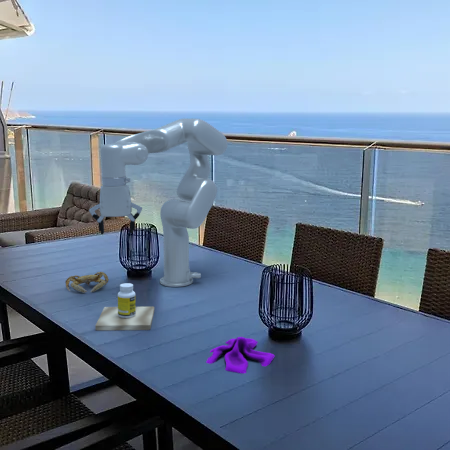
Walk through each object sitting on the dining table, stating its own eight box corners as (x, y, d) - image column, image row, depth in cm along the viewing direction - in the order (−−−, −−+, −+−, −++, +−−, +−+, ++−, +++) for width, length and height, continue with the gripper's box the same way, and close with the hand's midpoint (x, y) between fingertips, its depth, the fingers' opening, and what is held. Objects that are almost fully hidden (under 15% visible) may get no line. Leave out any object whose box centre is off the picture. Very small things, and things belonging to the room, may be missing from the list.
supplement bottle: (131, 319, 163) (131, 288, 161) (115, 317, 164) (114, 286, 162) (138, 313, 168) (137, 283, 166) (122, 311, 169) (121, 281, 167)
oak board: (154, 310, 175) (154, 306, 174) (150, 329, 159) (150, 325, 159) (104, 311, 174) (104, 306, 173) (95, 330, 158) (95, 325, 158)
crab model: (68, 296, 189) (67, 281, 187) (64, 286, 200) (63, 271, 199) (112, 291, 194) (111, 277, 193) (106, 281, 206) (105, 267, 205)
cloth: (245, 337, 156) (245, 317, 154) (290, 360, 141) (291, 338, 140) (180, 357, 142) (180, 335, 141) (222, 384, 128) (222, 360, 127)
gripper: (141, 179, 181) (143, 229, 185) (89, 181, 179) (92, 231, 183) (140, 183, 174) (142, 234, 177) (85, 184, 172) (89, 236, 176)
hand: (117, 232), depth 180 cm, fingers open, 9 cm apart
